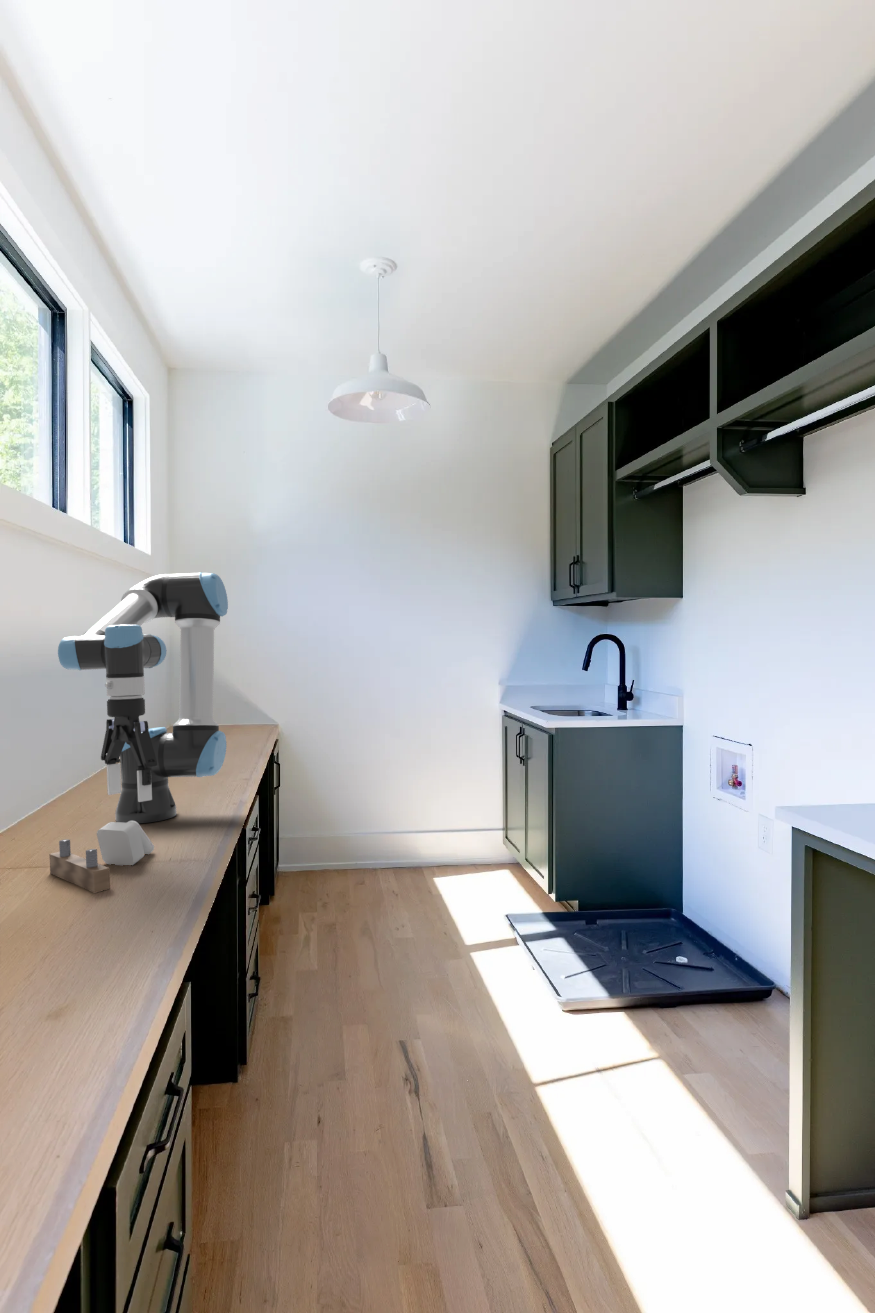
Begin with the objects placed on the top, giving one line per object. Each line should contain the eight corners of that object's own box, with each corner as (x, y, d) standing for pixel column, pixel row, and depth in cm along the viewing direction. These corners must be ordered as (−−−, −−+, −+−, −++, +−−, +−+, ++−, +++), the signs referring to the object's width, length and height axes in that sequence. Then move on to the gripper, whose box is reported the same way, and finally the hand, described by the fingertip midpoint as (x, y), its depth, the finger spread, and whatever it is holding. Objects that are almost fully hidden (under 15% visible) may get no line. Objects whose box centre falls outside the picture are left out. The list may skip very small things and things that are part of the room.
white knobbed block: (167, 850, 178) (158, 808, 176) (136, 874, 169) (126, 831, 166) (136, 848, 181) (127, 806, 178) (105, 872, 171) (95, 829, 169)
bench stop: (50, 873, 165) (48, 839, 165) (65, 869, 167) (63, 836, 167) (94, 892, 151) (92, 855, 151) (110, 888, 153) (108, 852, 153)
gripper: (82, 697, 178) (85, 793, 178) (137, 700, 161) (141, 807, 162) (115, 694, 184) (118, 788, 184) (172, 697, 167) (175, 800, 167)
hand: (129, 797), depth 173 cm, fingers open, 13 cm apart
